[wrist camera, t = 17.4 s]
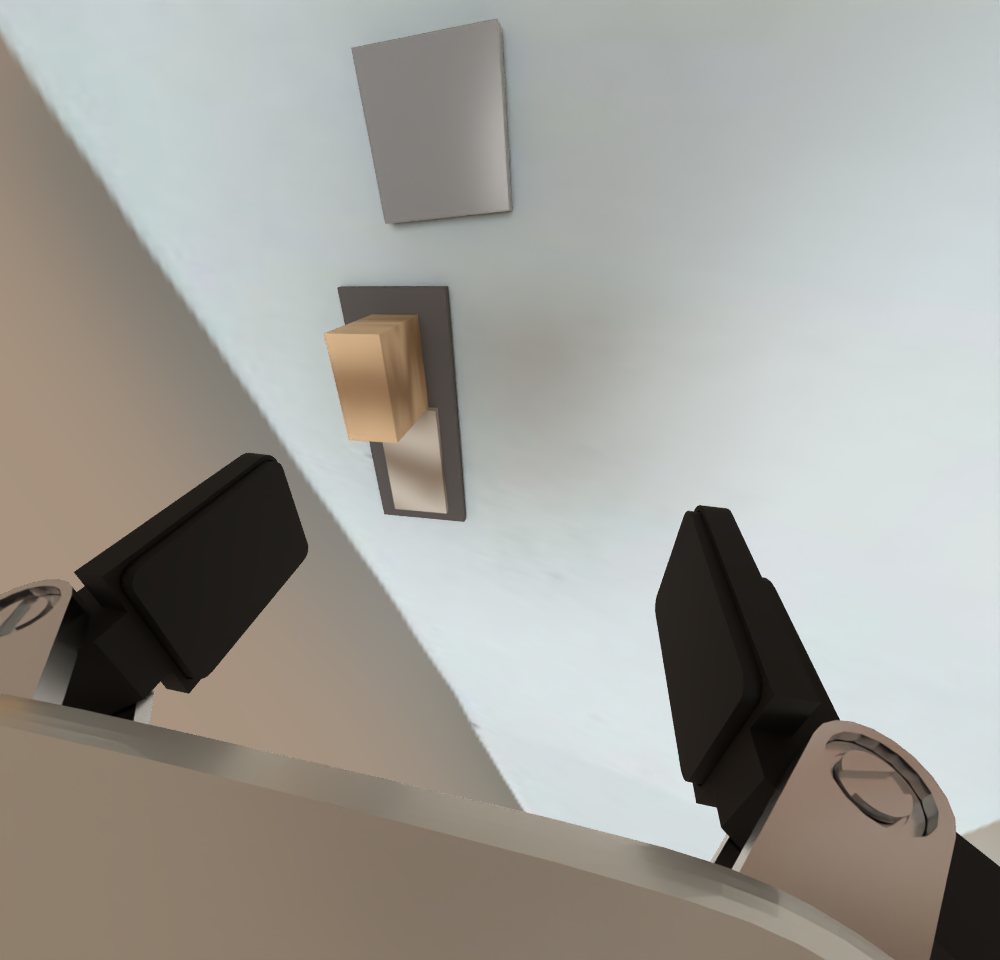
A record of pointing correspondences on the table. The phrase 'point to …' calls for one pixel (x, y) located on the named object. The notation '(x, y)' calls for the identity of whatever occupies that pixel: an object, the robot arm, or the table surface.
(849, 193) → the table surface
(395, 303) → the mat
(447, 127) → the tile
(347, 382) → the tan stepped block piece
